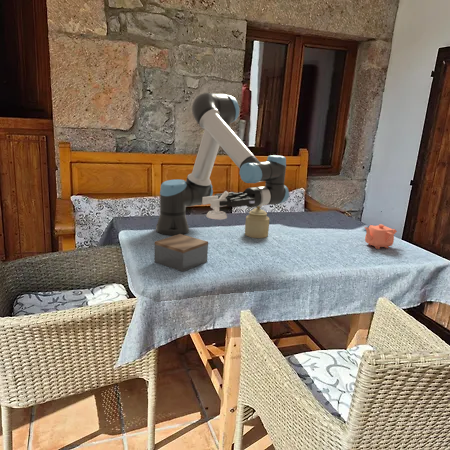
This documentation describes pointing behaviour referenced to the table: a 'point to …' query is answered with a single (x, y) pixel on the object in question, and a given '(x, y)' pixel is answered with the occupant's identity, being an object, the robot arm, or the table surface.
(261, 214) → the sugar bowl
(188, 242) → the block
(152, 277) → the table surface
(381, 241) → the teapot
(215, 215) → the white ring with handle
